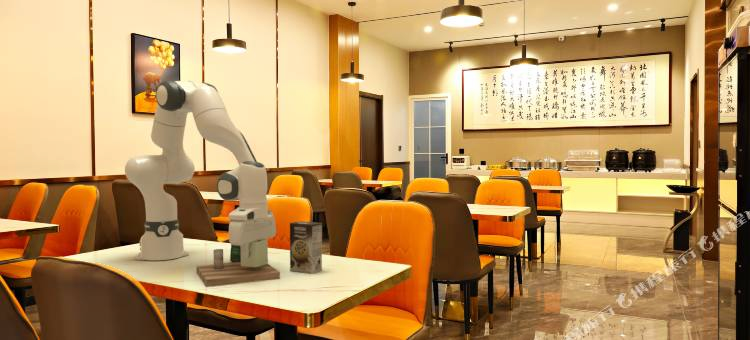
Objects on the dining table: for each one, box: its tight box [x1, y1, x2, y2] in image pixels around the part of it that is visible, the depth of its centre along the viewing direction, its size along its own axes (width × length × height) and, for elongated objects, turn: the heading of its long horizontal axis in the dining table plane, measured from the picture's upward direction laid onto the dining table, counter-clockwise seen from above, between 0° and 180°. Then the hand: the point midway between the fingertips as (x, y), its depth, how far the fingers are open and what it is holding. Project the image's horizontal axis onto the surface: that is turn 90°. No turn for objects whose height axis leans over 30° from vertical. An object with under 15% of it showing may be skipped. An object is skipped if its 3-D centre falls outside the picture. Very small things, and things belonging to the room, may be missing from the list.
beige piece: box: [241, 239, 269, 267], centre depth 167 cm, size 6×6×8 cm
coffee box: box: [289, 220, 323, 274], centre depth 174 cm, size 9×6×16 cm
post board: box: [195, 248, 281, 288], centre depth 168 cm, size 22×22×8 cm
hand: (254, 255), depth 167 cm, fingers closed on beige piece, 6 cm apart
